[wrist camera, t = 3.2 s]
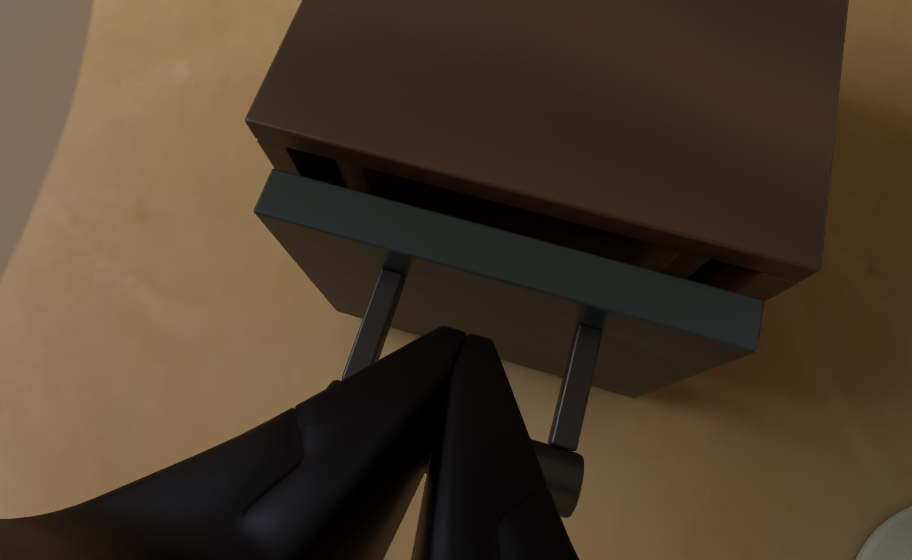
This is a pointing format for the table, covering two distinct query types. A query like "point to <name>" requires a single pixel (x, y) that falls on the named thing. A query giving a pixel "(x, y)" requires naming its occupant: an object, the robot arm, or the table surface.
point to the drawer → (509, 291)
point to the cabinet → (582, 115)
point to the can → (890, 539)
